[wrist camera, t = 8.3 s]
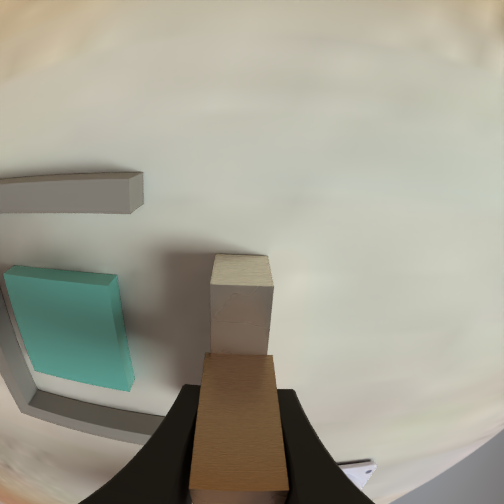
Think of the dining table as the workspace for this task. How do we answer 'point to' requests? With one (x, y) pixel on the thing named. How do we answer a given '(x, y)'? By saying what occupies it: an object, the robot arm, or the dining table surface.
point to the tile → (72, 324)
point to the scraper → (239, 393)
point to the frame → (3, 337)
